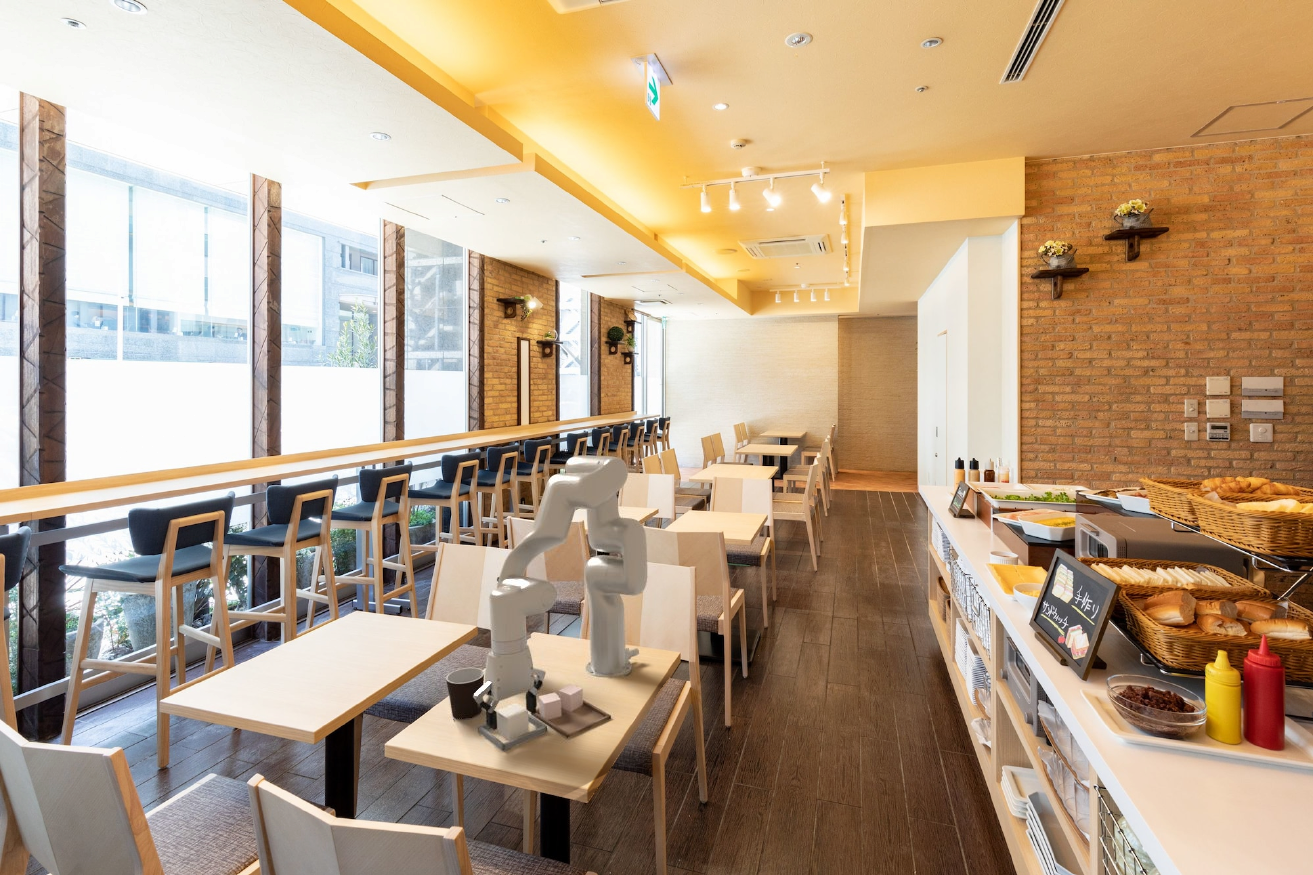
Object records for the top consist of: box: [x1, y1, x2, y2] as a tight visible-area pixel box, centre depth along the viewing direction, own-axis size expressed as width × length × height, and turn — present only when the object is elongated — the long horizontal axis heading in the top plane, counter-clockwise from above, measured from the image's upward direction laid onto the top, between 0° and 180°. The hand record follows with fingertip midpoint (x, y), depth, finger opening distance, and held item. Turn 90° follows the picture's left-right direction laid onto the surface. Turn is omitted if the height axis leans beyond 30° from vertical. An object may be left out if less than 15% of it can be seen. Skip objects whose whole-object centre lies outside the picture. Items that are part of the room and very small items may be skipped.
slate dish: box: [477, 713, 548, 752], centre depth 141 cm, size 11×11×2 cm
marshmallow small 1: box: [558, 684, 584, 711], centre depth 152 cm, size 4×4×4 cm
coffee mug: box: [445, 667, 485, 722], centre depth 152 cm, size 12×9×10 cm
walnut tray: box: [530, 699, 612, 739], centre depth 147 cm, size 12×15×2 cm
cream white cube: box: [495, 702, 530, 741], centre depth 141 cm, size 5×5×5 cm
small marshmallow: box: [538, 692, 561, 720], centre depth 148 cm, size 4×4×4 cm
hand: (512, 719), depth 141 cm, fingers open, 9 cm apart
